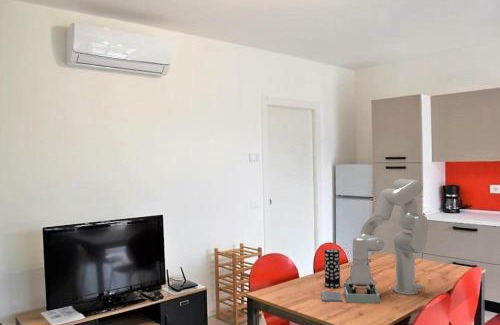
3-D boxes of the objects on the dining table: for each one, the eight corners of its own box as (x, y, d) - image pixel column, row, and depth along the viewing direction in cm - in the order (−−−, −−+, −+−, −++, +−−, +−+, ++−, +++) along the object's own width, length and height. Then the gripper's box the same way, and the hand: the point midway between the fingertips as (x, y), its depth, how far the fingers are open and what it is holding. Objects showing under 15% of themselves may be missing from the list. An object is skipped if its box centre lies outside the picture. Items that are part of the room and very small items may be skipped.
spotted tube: (340, 284, 233) (339, 249, 233) (339, 289, 225) (339, 252, 225) (325, 283, 236) (325, 248, 236) (324, 288, 228) (323, 252, 228)
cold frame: (375, 294, 215) (374, 283, 215) (379, 303, 202) (379, 291, 202) (343, 294, 217) (343, 282, 217) (346, 302, 204) (346, 290, 204)
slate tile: (340, 294, 217) (340, 292, 217) (342, 301, 205) (342, 299, 205) (320, 293, 218) (320, 291, 218) (322, 301, 206) (321, 299, 206)
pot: (367, 296, 213) (366, 282, 213) (369, 301, 206) (369, 287, 206) (353, 296, 213) (353, 282, 213) (355, 300, 206) (354, 286, 206)
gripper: (376, 260, 212) (377, 294, 212) (342, 259, 214) (343, 294, 214) (379, 263, 205) (379, 299, 205) (344, 263, 207) (344, 298, 207)
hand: (361, 296), depth 209 cm, fingers closed on pot, 6 cm apart
